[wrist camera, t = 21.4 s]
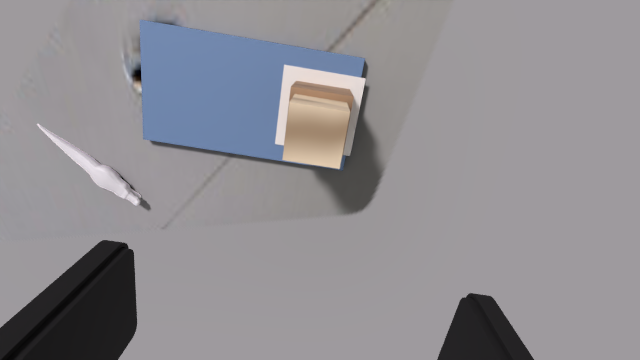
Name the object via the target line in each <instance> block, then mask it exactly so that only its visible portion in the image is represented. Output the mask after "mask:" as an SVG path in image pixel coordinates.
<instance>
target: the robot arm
mask: <svg viewBox="0 0 640 360" xmlns="http://www.w3.org/2000/svg"><path fill="white" fill-rule="evenodd" d="M136 327H137V312H136V290H135V268H134V252H133V250H131V249H128V245H127V244H125V243H122V242H114V241H108V240H103V241H101V242H99V243H98V244H97V245H96V246H95V247H94V248H92V249H91V250H90V251H89V252H88V253H87V254H85V255H84V256H83V257H82V258H81V259H80V260H79V261H77V262H76V263H75V264H74V265H73V266H72V267H70V268H69V269H68V270H67V271H66V272H65V273H63V274H62V275H61V276H60V277H59V278H58V279H57V280H55V281H54V282H53V283H52V284H51V285H49V286H48V287H47V288H46V289H45V290H44V291H43V292H41V293H40V294H39V295H38V296H37V297H36V298H34V299H33V300H32V301H31V302H30V303H29V304H27V305H26V306H25V307H24V308H23V309H22V310H20V311H19V312H18V313H17V314H16V315H15V316H14V317H12V318H11V319H10V320H9V321H8V322H7V323H5V324H4V325H3V326H2V327H1V328H0V360H118V359H119V357H120V356H121V354H122V353H123V351H124V350H125V348H126V347H127V345H128V343H129V342H130V341H131V339H132V338H133V336H134V334H135V331H136ZM437 360H534V359H533V357H532V356H531V354H530V353H529V351H528V350H527V348H526V347H525V345H524V344H523V342H522V341H521V339H520V338H519V336H518V335H517V333H516V332H515V330H514V329H513V327H512V326H511V324H510V323H509V321H508V320H507V318H506V317H505V315H504V314H503V312H502V311H501V309H500V308H499V306H498V304H497V303H496V301H495V300H494V299H493V298H492V297H491V296H486V295H479V294H473V293H471V294H468V295H467V297H466V298H462V299H461V300H460V302H459V305H458V308H457V310H456V313H455V315H454V318H453V321H452V323H451V326H450V328H449V331H448V333H447V336H446V338H445V341H444V344H443V346H442V349H441V351H440V354H439V357H438V359H437Z"/></svg>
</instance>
